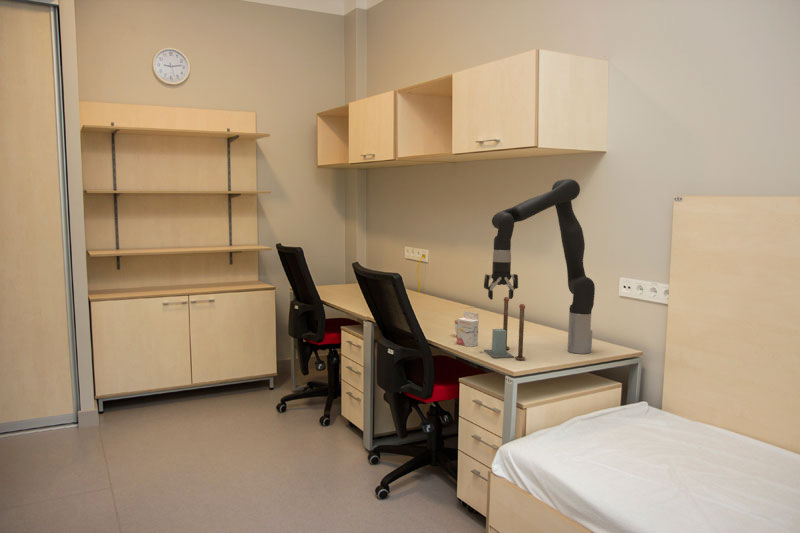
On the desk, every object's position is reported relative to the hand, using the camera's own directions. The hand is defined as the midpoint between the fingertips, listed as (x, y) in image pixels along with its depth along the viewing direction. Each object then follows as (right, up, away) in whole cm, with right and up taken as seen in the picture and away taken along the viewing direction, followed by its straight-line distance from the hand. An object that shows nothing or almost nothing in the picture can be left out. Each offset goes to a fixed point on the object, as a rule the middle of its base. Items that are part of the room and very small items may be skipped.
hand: (500, 299), depth 252 cm
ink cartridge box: (-12, -22, +20) cm, 32 cm away
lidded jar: (-11, -20, +36) cm, 43 cm away
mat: (0, -24, +3) cm, 24 cm away
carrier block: (0, -23, +3) cm, 23 cm away
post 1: (+4, -23, +12) cm, 26 cm away
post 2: (+7, -25, -5) cm, 26 cm away
